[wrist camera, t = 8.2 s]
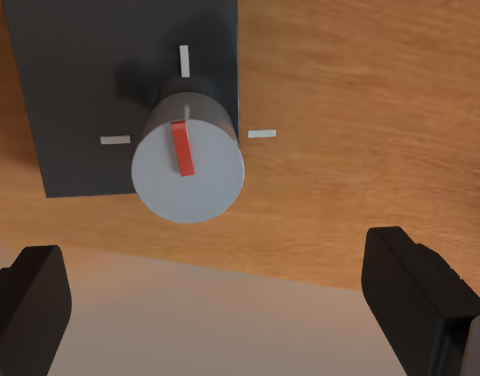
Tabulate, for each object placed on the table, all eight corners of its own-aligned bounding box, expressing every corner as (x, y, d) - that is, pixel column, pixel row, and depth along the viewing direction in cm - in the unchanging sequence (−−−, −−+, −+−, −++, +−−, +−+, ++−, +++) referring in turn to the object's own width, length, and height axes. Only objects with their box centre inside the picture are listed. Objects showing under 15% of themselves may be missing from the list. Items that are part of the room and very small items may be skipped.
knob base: (265, 185, 26) (274, 209, 23) (66, 196, 25) (50, 222, 22) (268, -116, 20) (280, -135, 17) (3, -117, 19) (-32, -138, 16)
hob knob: (239, 169, 22) (251, 217, 17) (154, 183, 22) (144, 235, 17) (227, 85, 20) (237, 112, 15) (135, 99, 20) (117, 131, 15)
